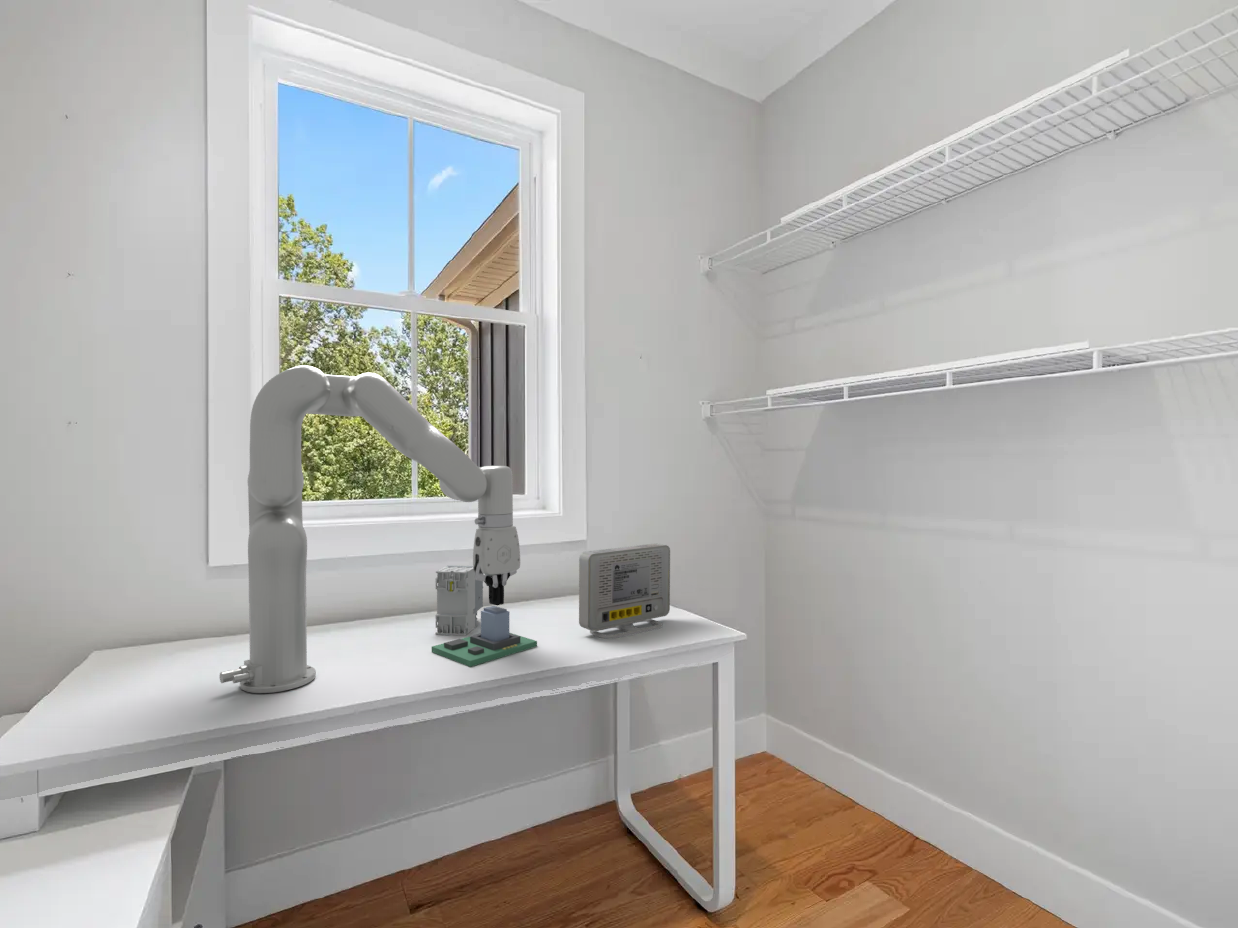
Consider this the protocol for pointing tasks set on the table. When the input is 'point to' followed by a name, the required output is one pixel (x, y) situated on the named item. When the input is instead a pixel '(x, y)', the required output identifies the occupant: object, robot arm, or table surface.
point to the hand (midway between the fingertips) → (496, 603)
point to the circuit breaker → (457, 600)
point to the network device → (624, 588)
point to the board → (482, 648)
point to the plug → (494, 623)
